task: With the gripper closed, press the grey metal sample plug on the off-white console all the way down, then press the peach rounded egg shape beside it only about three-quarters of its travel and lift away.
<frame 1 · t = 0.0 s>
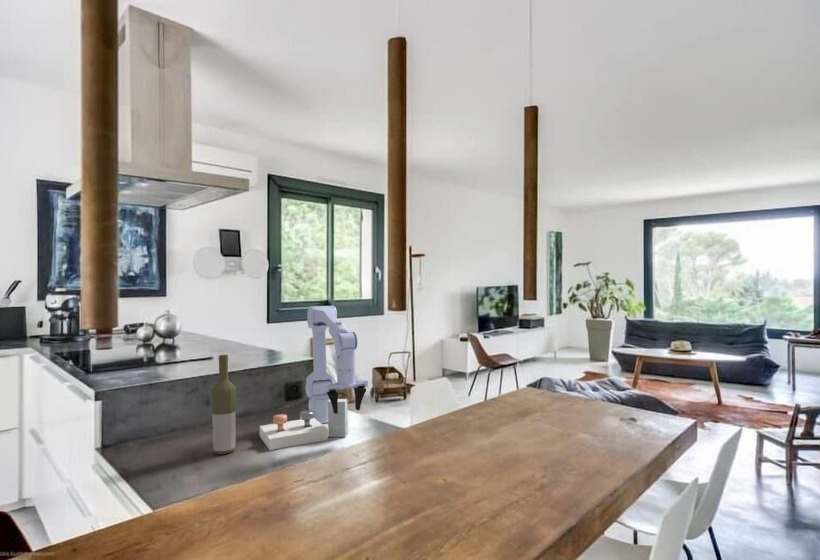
hand: (346, 411, 151), 10 cm above the table, fingers open, 7 cm apart
bottle: (224, 452, 144), on the table
skincare box: (338, 435, 158), on the table
sample plug: (307, 419, 157), point 6 cm above the table, slide at 0.0 cm
console: (293, 437, 156), on the table
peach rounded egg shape: (280, 424, 153), point 6 cm above the table, slide at 0.0 cm
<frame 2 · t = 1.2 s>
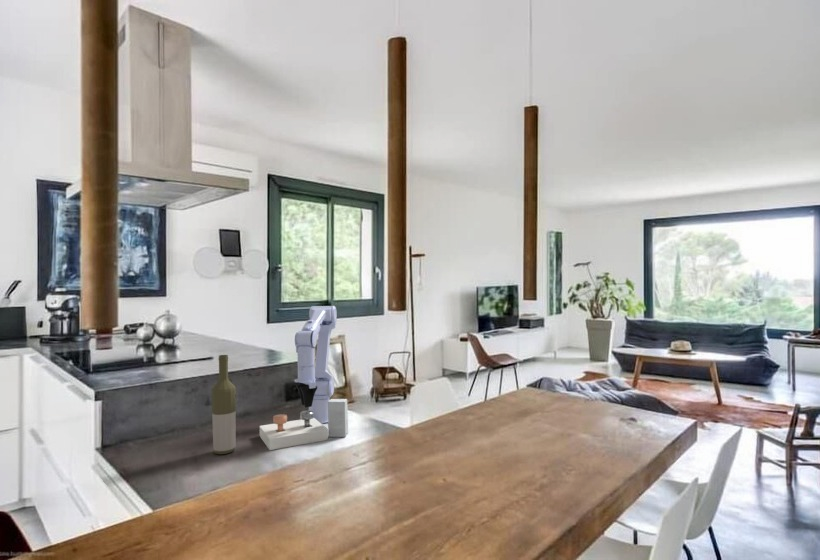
hand: (306, 405, 157), 10 cm above the table, fingers open, 3 cm apart
nothing on the table moved.
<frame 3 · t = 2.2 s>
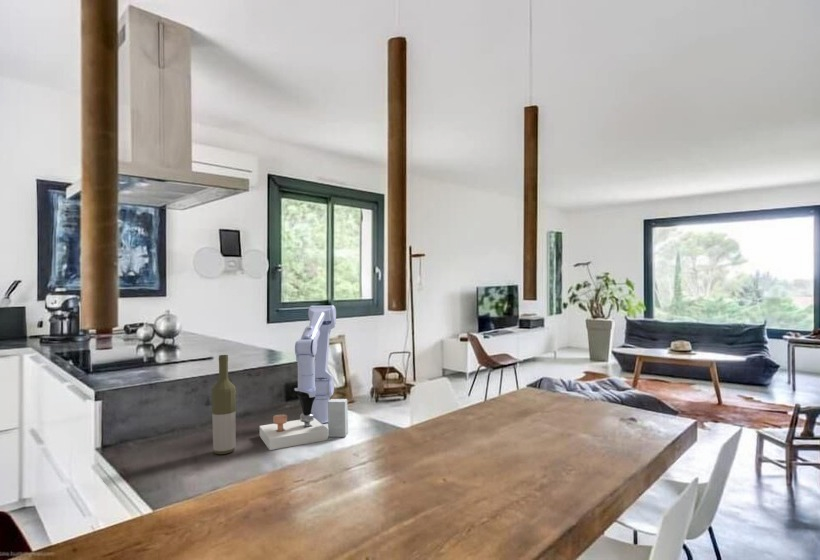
hand: (306, 414, 157), 7 cm above the table, fingers closed, pressing on sample plug
sample plug: (307, 421, 157), point 5 cm above the table, slide at 0.7 cm, touching gripper
everything else where it was.
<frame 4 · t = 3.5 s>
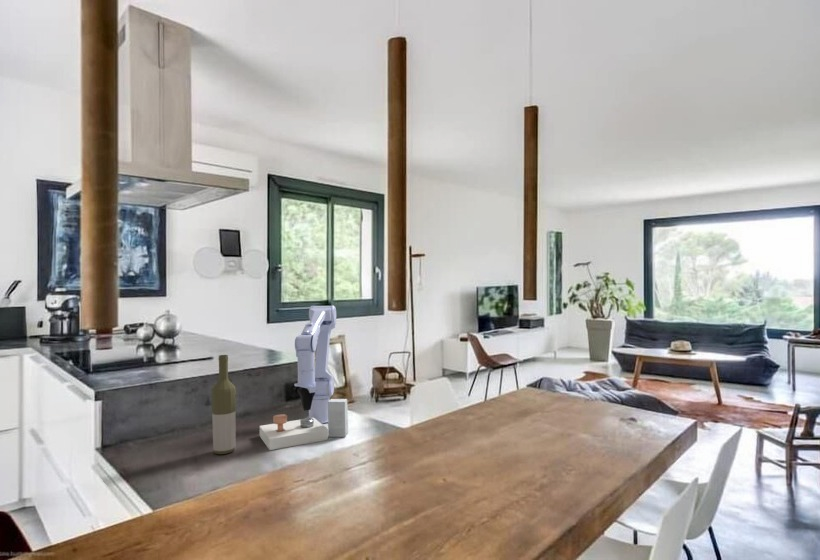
hand: (306, 409, 157), 9 cm above the table, fingers closed
sample plug: (307, 427, 157), point 3 cm above the table, slide at 2.7 cm
everything else where it was.
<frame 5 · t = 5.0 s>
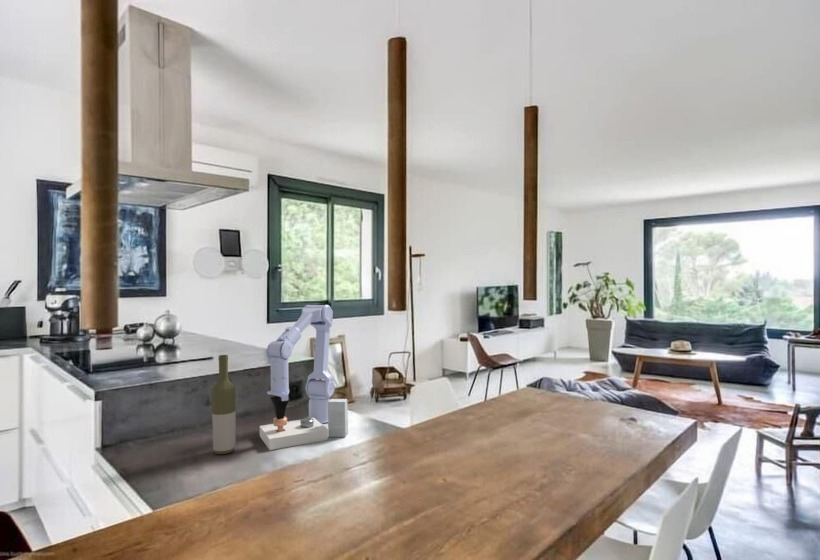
hand: (280, 418, 153), 7 cm above the table, fingers closed, pressing on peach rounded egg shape
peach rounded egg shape: (280, 426, 153), point 5 cm above the table, slide at 0.7 cm, touching gripper
everything else where it was.
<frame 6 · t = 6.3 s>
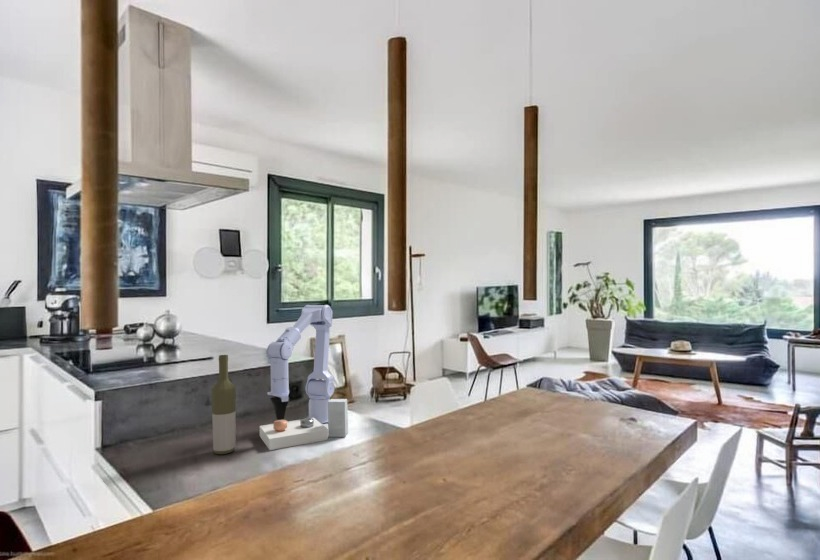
hand: (280, 418, 153), 7 cm above the table, fingers closed
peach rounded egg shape: (280, 429, 153), point 4 cm above the table, slide at 1.8 cm
everything else where it was.
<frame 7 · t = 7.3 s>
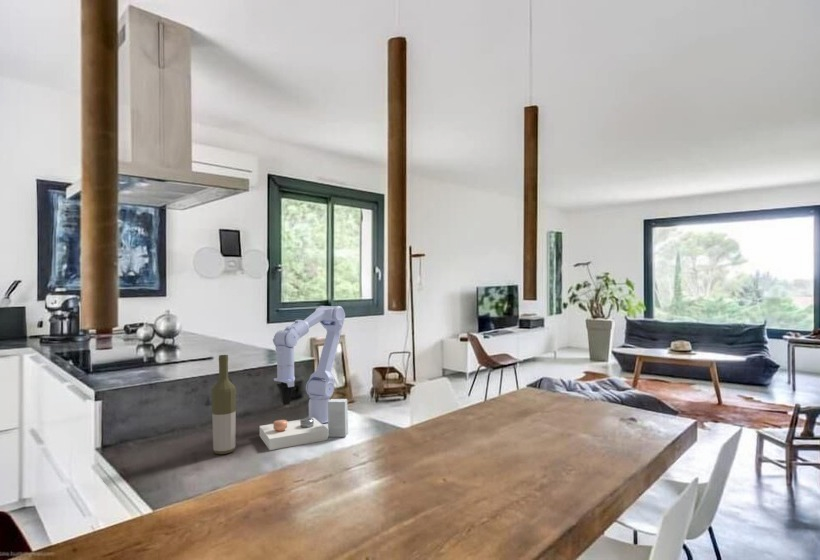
hand: (286, 404, 160), 10 cm above the table, fingers closed
nothing on the table moved.
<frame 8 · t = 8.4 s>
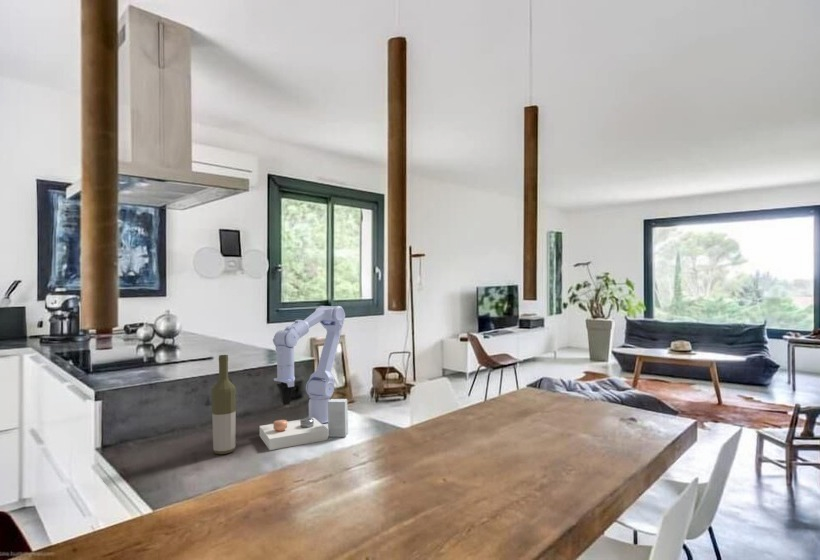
hand: (286, 404, 160), 10 cm above the table, fingers closed
nothing on the table moved.
at the end: sample plug slide at 2.7 cm; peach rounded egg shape slide at 1.8 cm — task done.
